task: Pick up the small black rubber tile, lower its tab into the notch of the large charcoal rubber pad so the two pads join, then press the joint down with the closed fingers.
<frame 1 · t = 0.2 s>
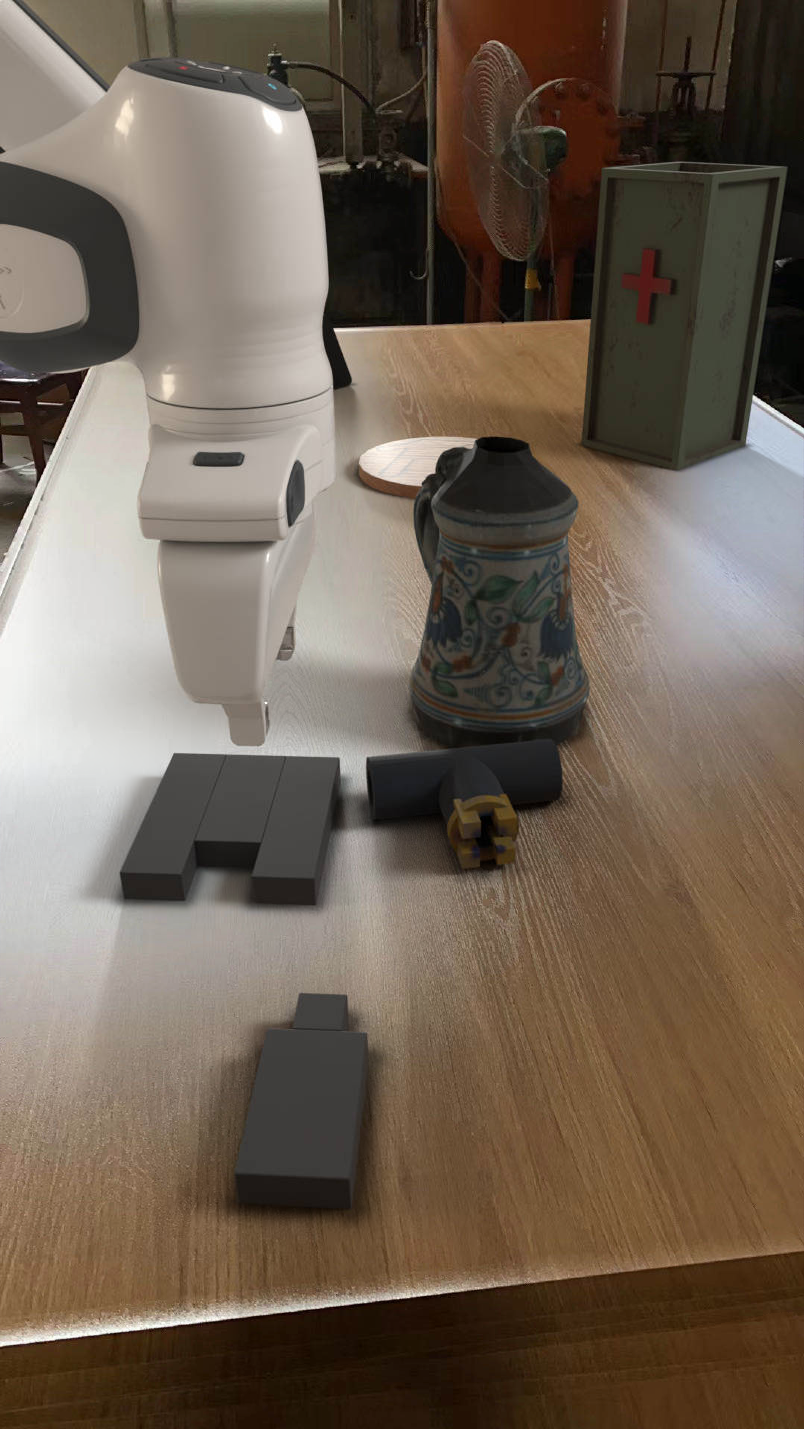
hand: (266, 694, 60), 22 cm above the table, tool pointing down, fingers open, 8 cm apart
pipe connector: (471, 830, 86), on the table
trivet: (442, 473, 164), on the table
first aid box: (662, 447, 175), on the table
base pad: (240, 836, 85), on the table
device stand: (270, 387, 211), on the table
black tile: (307, 1128, 61), on the table
beer stein: (483, 710, 102), on the table
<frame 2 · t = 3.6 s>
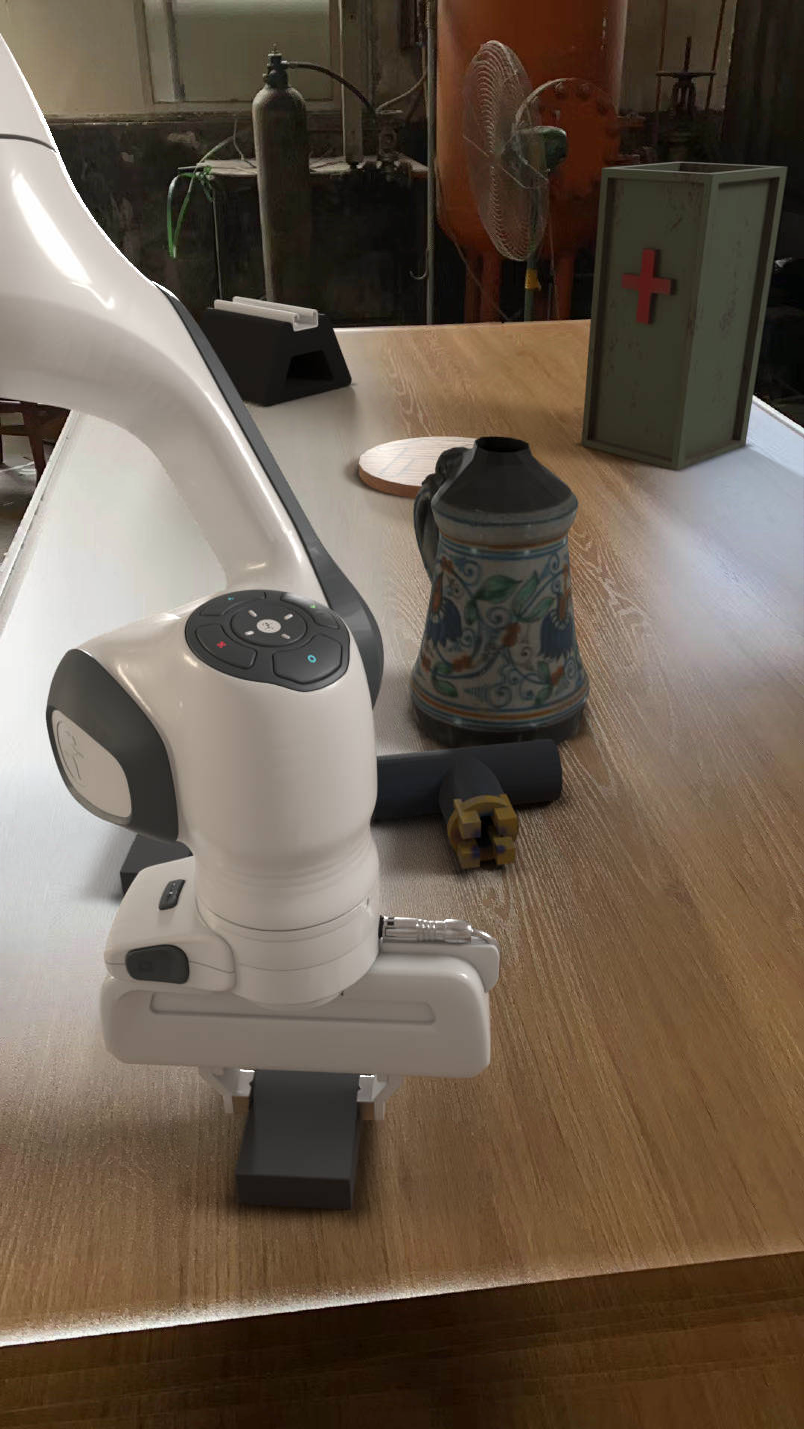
hand: (305, 1107, 60), 2 cm above the table, tool pointing down, fingers closed on black tile, 6 cm apart
black tile: (307, 1128, 61), on the table, touching gripper
everything else where it was.
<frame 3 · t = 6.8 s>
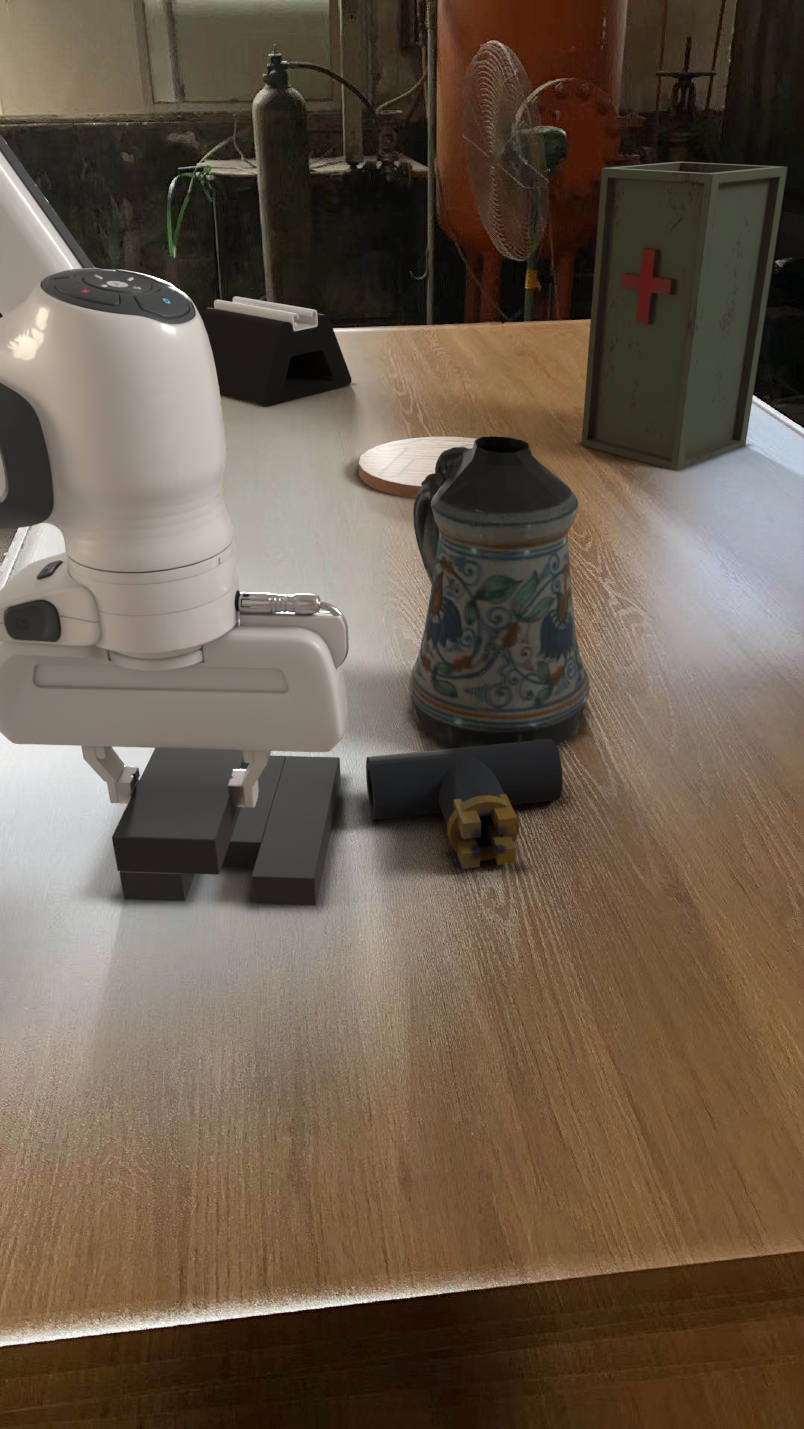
hand: (184, 800, 66), 13 cm above the table, tool pointing down, fingers closed on black tile, 6 cm apart
black tile: (188, 822, 67), point 12 cm above the table, touching gripper
everything else where it was.
when the fingers open (1 cm above the table, at t = 10.0 s): black tile stays where it is, on the table.
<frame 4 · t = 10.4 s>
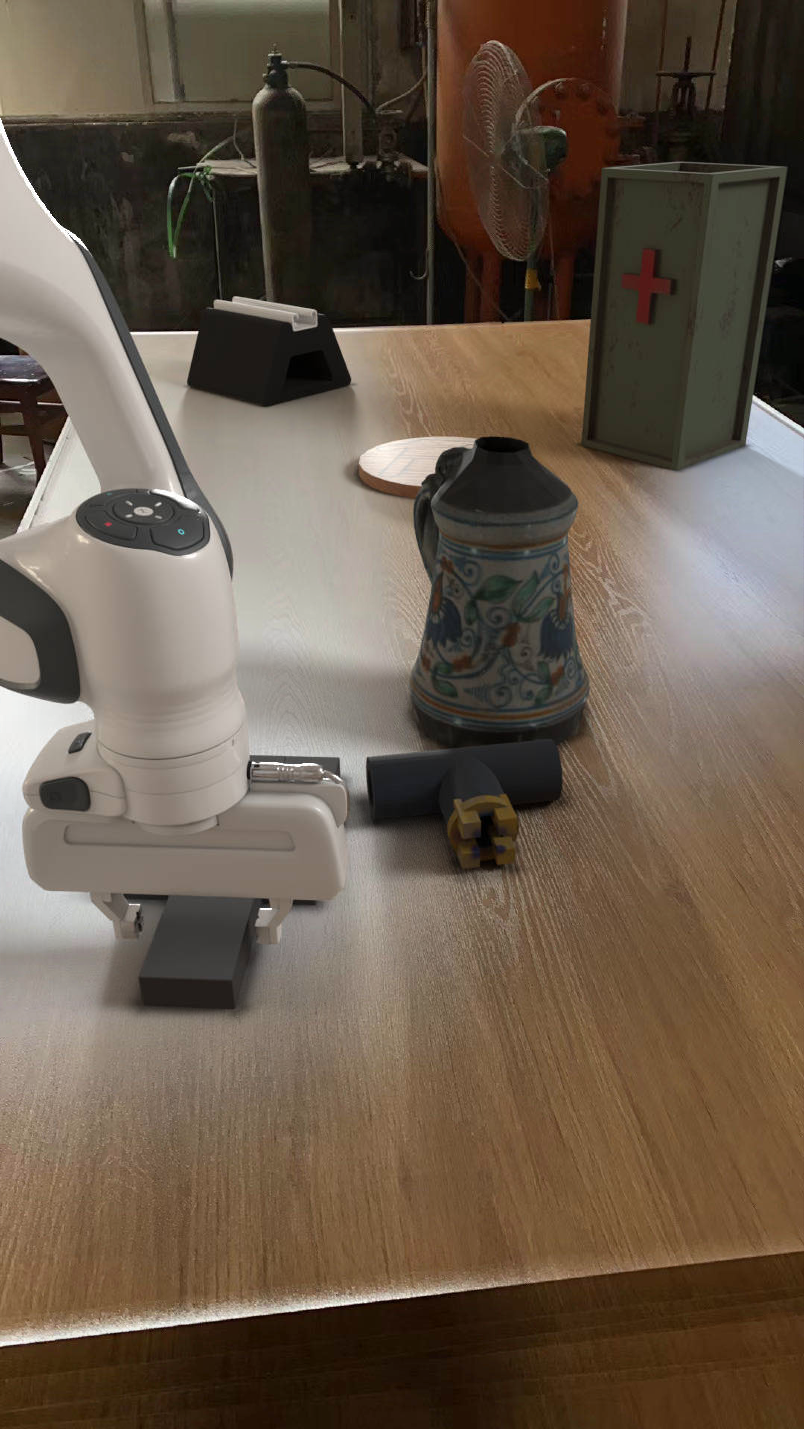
hand: (199, 935, 73), 2 cm above the table, tool pointing down, fingers open, 8 cm apart
black tile: (205, 953, 74), on the table
everything else where it was.
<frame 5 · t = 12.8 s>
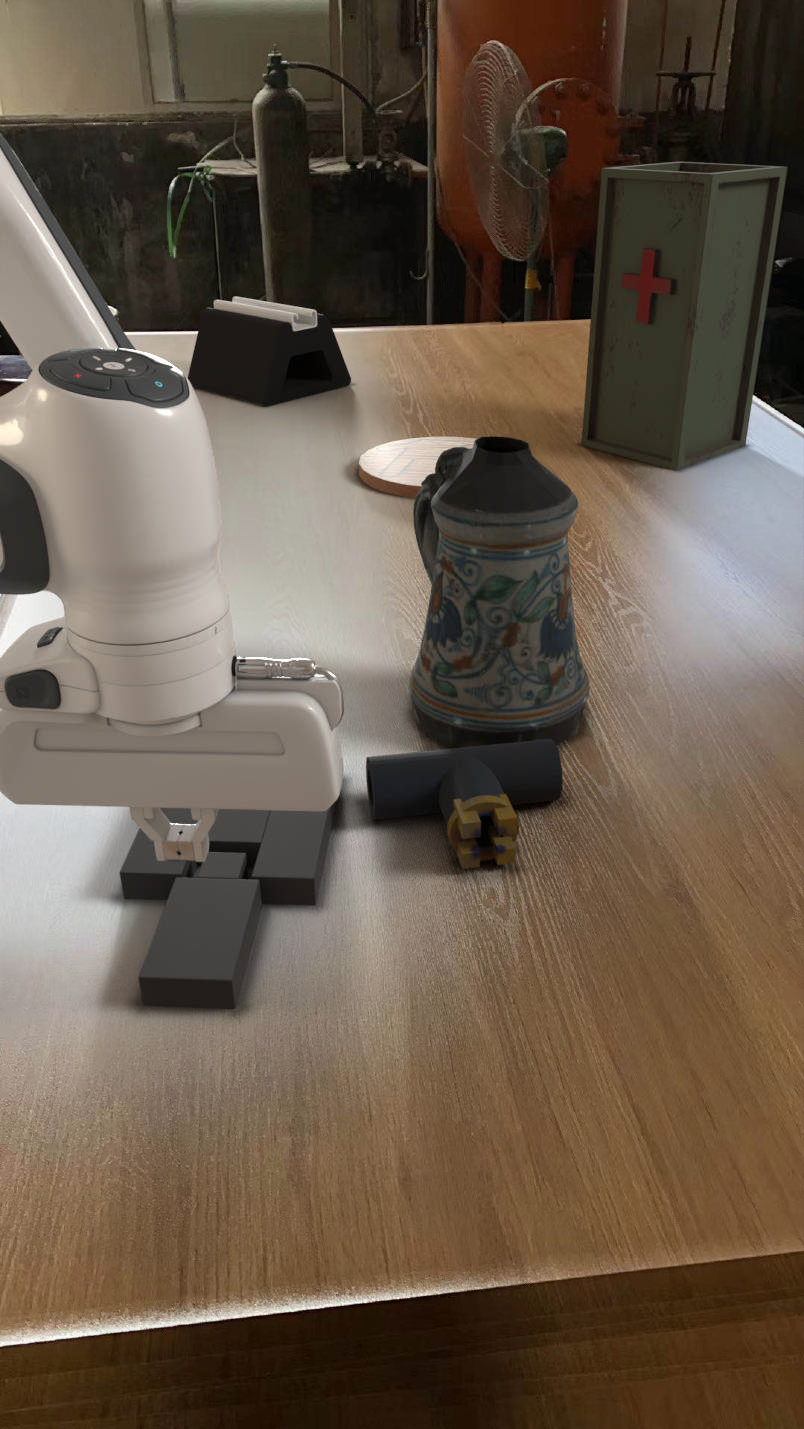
hand: (184, 855, 67), 10 cm above the table, tool pointing down, fingers closed
nothing on the table moved.
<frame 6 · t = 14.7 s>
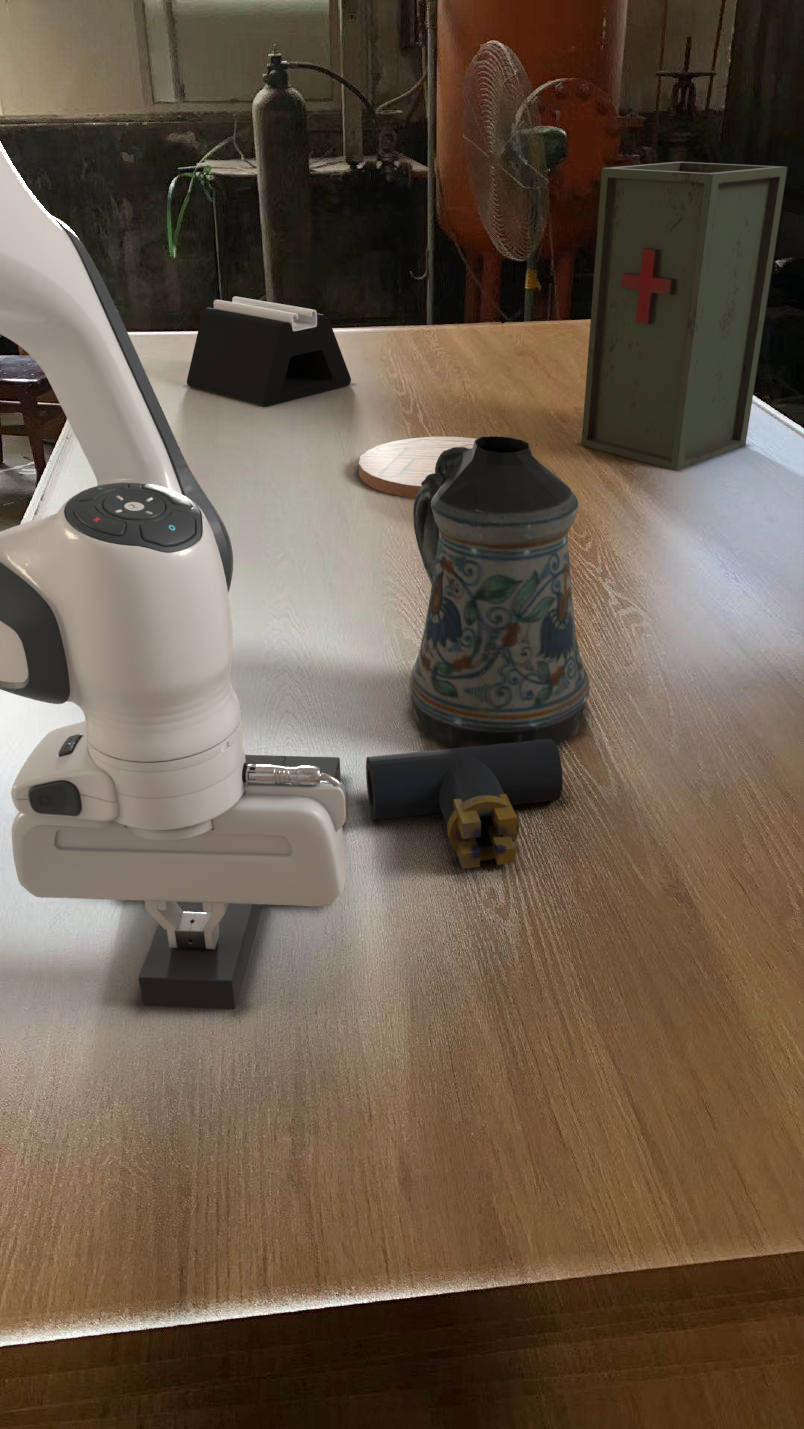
hand: (195, 942, 71), 3 cm above the table, tool pointing down, fingers closed, pressing on black tile
black tile: (206, 954, 74), on the table, touching gripper
everything else where it was.
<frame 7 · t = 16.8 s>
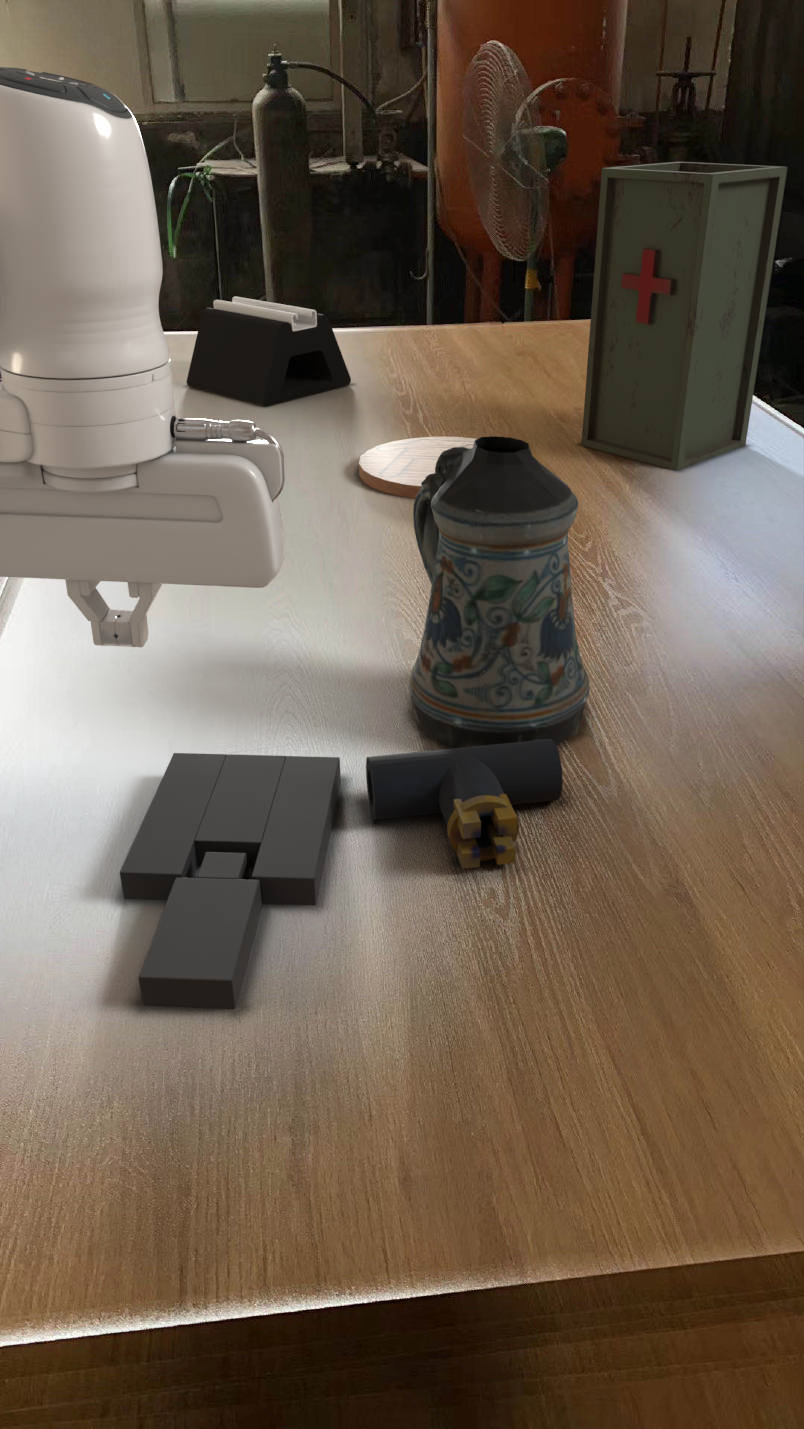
hand: (121, 642, 66), 22 cm above the table, tool pointing down, fingers closed
black tile: (205, 953, 74), on the table
everything else where it was.
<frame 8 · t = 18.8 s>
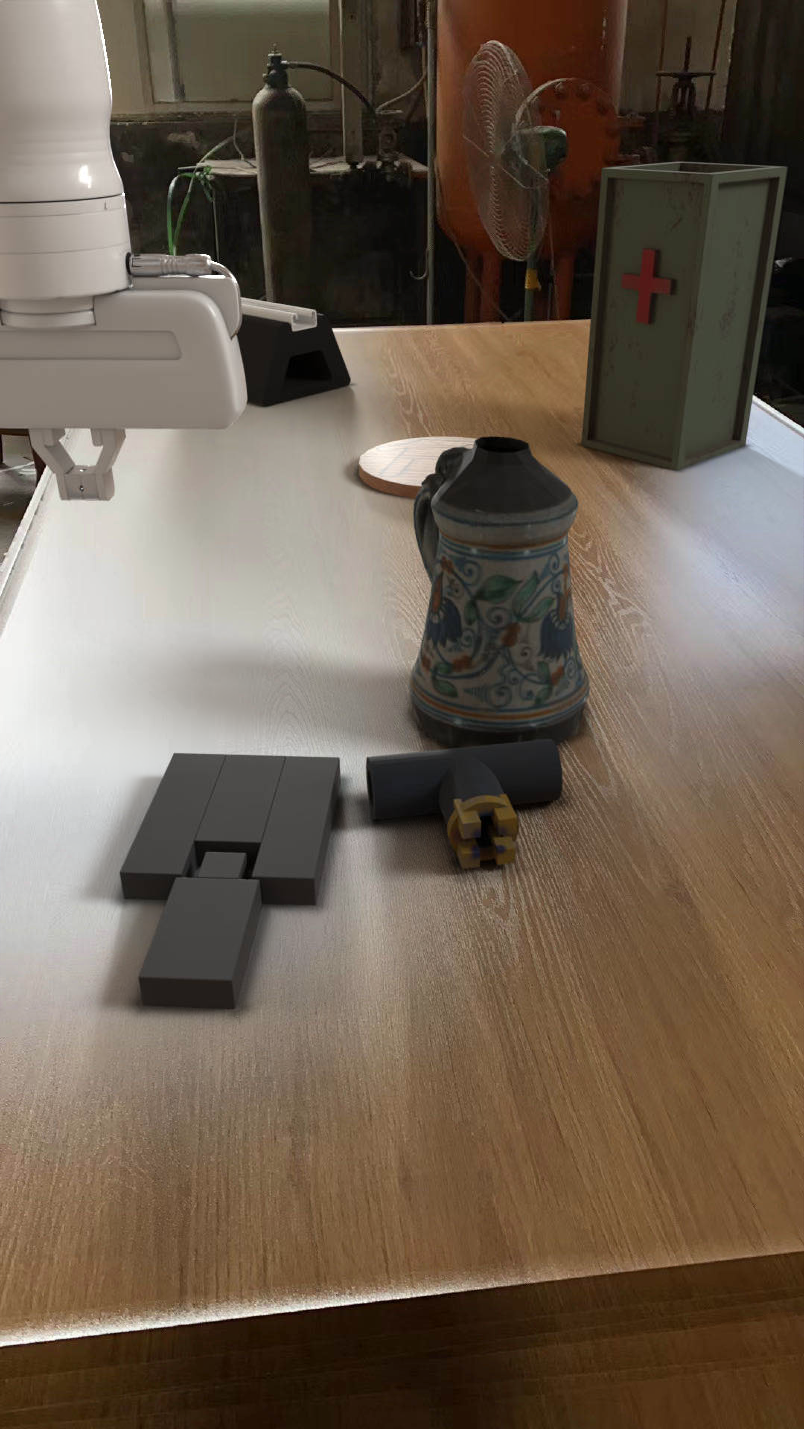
hand: (88, 498, 66), 29 cm above the table, tool pointing down, fingers closed
nothing on the table moved.
at the end: black tile 0.3 cm from the target spot on the table beside the base pad, on the table; black tile tilted 0°; the gripper is holding nothing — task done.
